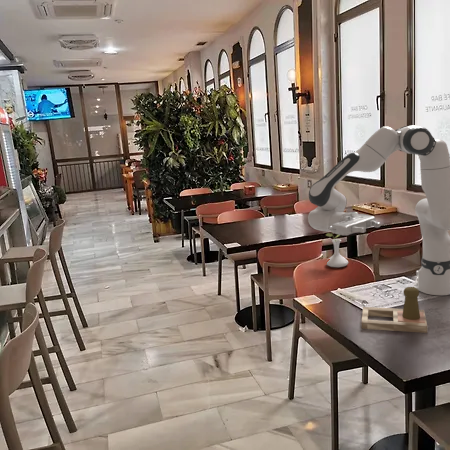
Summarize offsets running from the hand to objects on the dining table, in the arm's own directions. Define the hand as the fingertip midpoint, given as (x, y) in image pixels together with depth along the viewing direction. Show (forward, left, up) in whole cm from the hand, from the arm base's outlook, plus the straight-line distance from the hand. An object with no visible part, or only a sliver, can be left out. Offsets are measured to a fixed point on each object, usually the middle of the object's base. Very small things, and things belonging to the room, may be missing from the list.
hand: (372, 227), depth 172 cm
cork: (+9, +13, -31) cm, 35 cm away
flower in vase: (-55, -20, -34) cm, 68 cm away
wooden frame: (+10, +7, -34) cm, 36 cm away
